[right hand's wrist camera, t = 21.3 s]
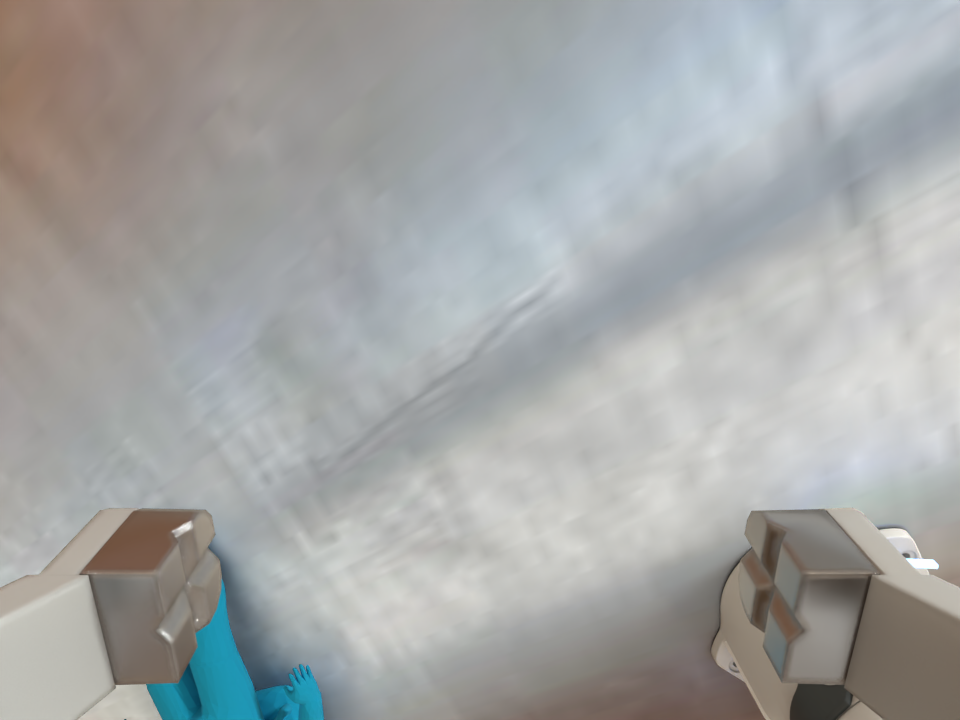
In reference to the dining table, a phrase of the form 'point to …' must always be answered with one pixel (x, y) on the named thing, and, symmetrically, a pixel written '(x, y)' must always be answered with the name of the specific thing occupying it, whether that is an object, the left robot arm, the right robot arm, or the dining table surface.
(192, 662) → the toy
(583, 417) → the dining table surface
